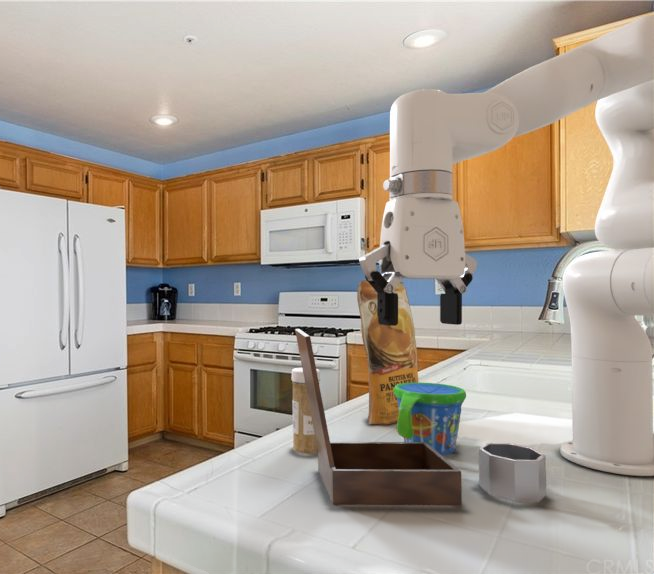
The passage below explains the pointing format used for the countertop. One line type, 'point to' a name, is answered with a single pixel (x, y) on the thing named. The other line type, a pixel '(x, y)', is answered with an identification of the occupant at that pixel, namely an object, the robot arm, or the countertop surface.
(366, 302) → the pancake mix bag
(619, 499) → the countertop surface
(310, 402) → the lid
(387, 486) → the chest
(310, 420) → the sprinkles bottle
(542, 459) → the steel cup
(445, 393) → the snack cup
